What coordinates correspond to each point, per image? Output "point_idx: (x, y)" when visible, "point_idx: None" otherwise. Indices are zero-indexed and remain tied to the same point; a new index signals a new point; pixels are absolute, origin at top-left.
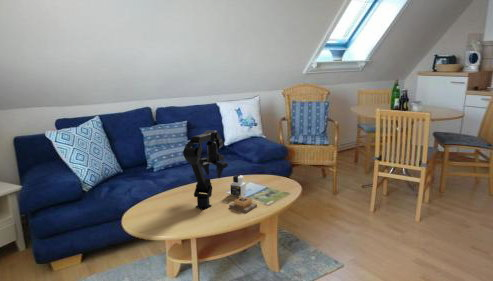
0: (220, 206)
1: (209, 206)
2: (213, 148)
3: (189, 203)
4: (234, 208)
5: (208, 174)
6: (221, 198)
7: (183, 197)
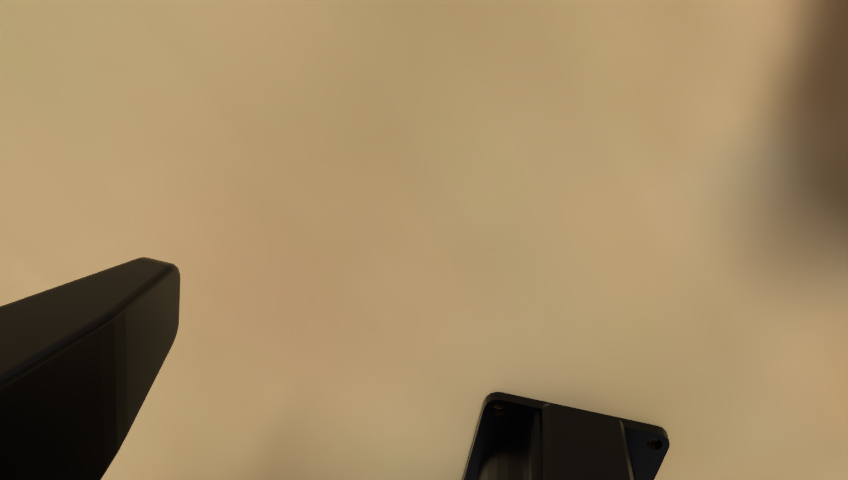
0: (827, 396)
1: (656, 471)
2: None
3: (290, 432)
4: None
5: (163, 299)
6: (717, 79)
7: (36, 282)
